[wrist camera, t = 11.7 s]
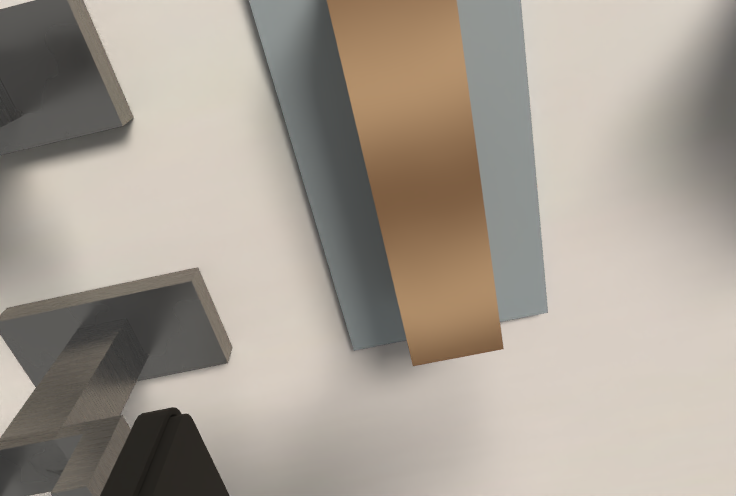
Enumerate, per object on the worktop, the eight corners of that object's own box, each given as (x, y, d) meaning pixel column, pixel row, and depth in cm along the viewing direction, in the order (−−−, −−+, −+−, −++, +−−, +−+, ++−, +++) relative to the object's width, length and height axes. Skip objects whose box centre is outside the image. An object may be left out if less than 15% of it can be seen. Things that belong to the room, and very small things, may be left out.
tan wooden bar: (479, 283, 22) (503, 348, 18) (403, 298, 22) (412, 366, 19) (426, -61, 16) (448, -62, 13) (326, -36, 16) (319, -29, 13)
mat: (544, 305, 23) (548, 312, 23) (353, 343, 24) (353, 350, 23) (501, -163, 16) (506, -167, 15) (225, -89, 16) (221, -91, 16)
